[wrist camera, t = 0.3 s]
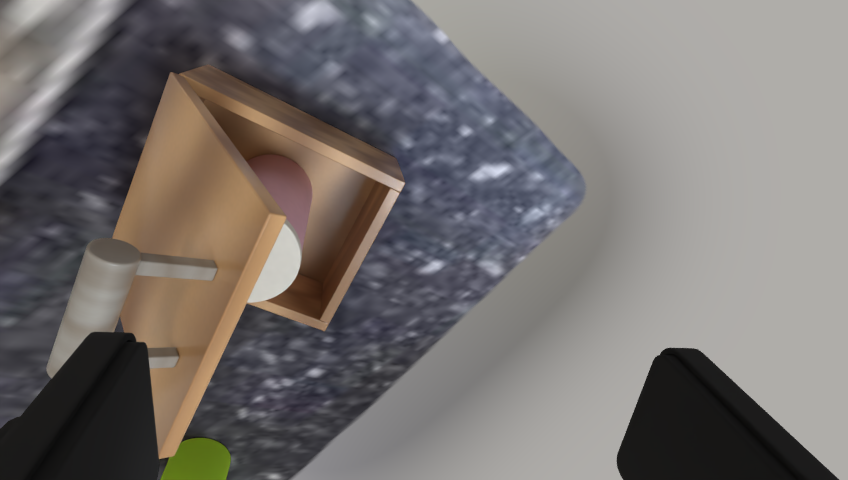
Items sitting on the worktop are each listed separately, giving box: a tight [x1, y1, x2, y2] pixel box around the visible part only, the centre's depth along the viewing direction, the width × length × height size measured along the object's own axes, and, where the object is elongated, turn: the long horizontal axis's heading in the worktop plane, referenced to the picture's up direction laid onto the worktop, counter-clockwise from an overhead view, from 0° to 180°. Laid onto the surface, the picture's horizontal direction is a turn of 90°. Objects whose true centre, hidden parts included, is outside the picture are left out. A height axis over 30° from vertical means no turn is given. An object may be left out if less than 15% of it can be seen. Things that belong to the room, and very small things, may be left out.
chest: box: [179, 64, 405, 331], centre depth 37 cm, size 16×14×7 cm
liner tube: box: [247, 154, 313, 303], centre depth 34 cm, size 6×6×12 cm
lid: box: [47, 72, 287, 459], centre depth 24 cm, size 16×14×6 cm
